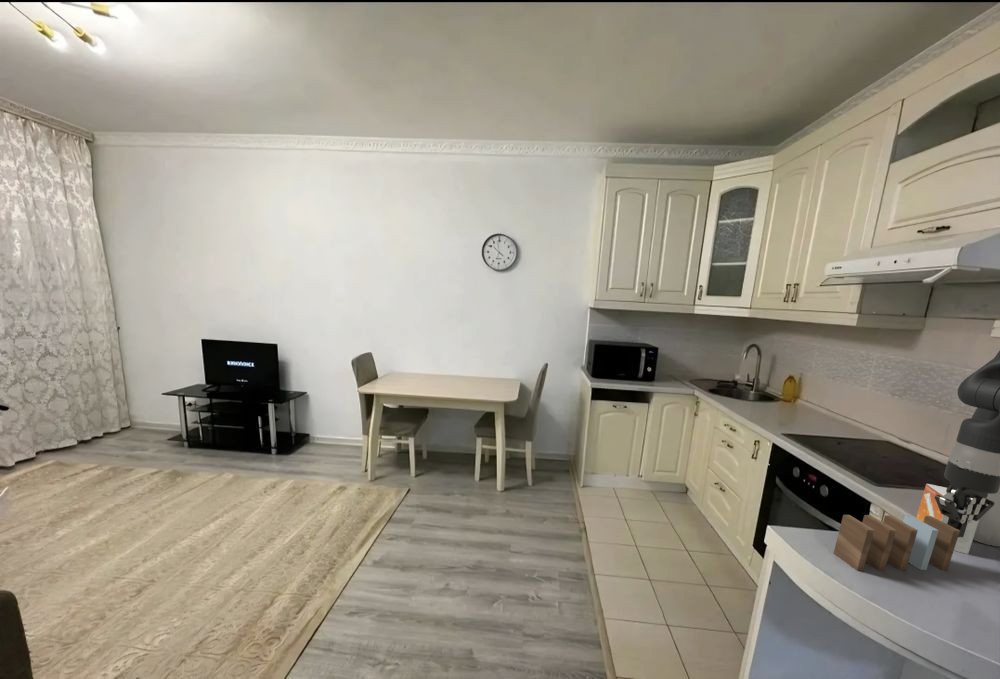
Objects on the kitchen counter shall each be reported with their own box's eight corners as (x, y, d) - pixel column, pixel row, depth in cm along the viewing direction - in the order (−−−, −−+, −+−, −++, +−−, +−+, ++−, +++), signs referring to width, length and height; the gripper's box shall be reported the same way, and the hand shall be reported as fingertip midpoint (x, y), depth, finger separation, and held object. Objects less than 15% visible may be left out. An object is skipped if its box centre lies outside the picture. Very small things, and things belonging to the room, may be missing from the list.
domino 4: (899, 553, 84) (910, 515, 83) (926, 569, 79) (938, 530, 78) (893, 553, 84) (904, 515, 83) (920, 570, 79) (932, 530, 78)
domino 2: (859, 553, 83) (870, 515, 82) (884, 570, 78) (896, 530, 77) (853, 553, 83) (864, 515, 81) (878, 570, 78) (889, 530, 76)
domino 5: (919, 553, 85) (930, 515, 83) (947, 569, 80) (960, 530, 78) (913, 553, 85) (925, 515, 83) (941, 570, 80) (954, 530, 78)
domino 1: (839, 553, 82) (849, 514, 81) (863, 570, 78) (874, 529, 76) (833, 553, 82) (843, 514, 81) (856, 570, 77) (867, 529, 76)
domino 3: (880, 553, 84) (890, 515, 82) (905, 570, 79) (917, 530, 77) (874, 553, 84) (884, 515, 82) (899, 570, 79) (911, 530, 77)
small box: (912, 526, 96) (925, 482, 94) (945, 535, 93) (959, 490, 91) (933, 545, 88) (947, 498, 86) (969, 555, 86) (985, 506, 84)
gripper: (975, 458, 83) (955, 524, 86) (928, 456, 82) (909, 523, 84) (1025, 475, 76) (1001, 546, 79) (974, 474, 74) (951, 546, 77)
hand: (953, 534), depth 82 cm, fingers closed
